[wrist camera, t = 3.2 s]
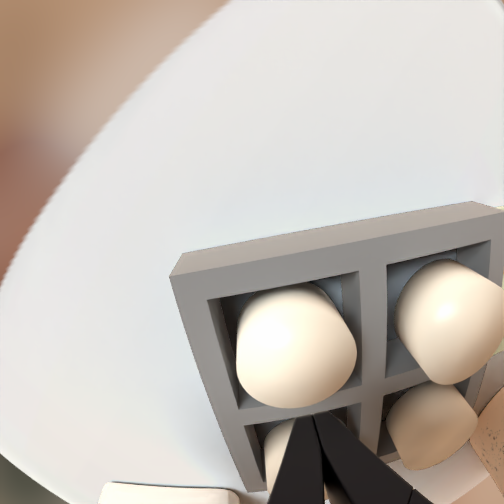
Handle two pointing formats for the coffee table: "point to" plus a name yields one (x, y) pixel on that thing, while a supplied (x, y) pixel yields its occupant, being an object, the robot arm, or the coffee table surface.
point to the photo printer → (164, 495)
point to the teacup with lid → (491, 438)
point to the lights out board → (354, 308)
